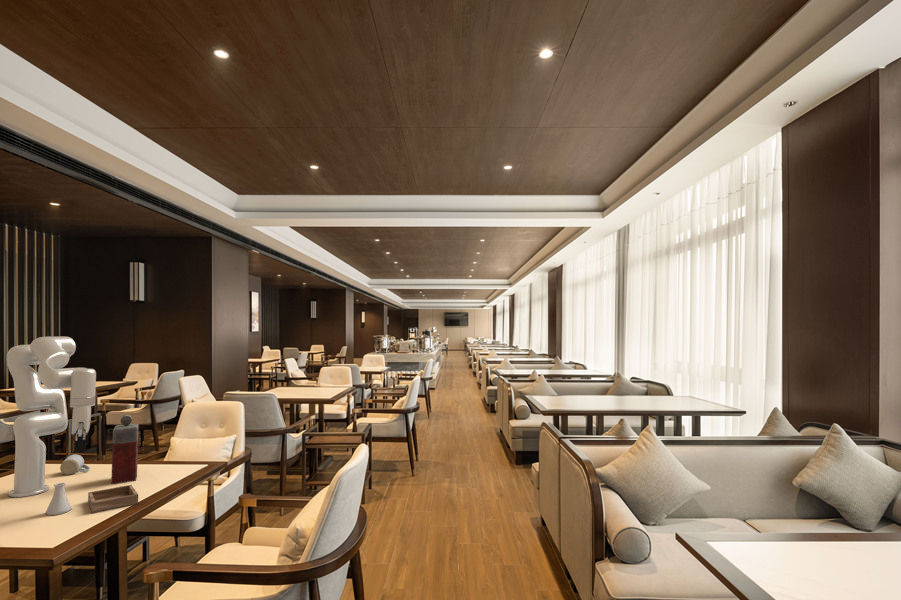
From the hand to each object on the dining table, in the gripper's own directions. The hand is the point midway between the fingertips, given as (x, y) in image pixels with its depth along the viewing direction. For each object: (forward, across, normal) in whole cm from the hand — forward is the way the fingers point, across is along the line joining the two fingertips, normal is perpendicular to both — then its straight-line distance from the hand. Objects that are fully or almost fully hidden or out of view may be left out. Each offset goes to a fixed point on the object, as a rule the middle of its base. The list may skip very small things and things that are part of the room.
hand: (81, 448), depth 183 cm
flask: (+22, +1, -6) cm, 23 cm away
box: (+22, 0, +10) cm, 24 cm away
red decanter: (+22, -33, +14) cm, 42 cm away
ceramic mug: (+21, -59, -6) cm, 63 cm away
